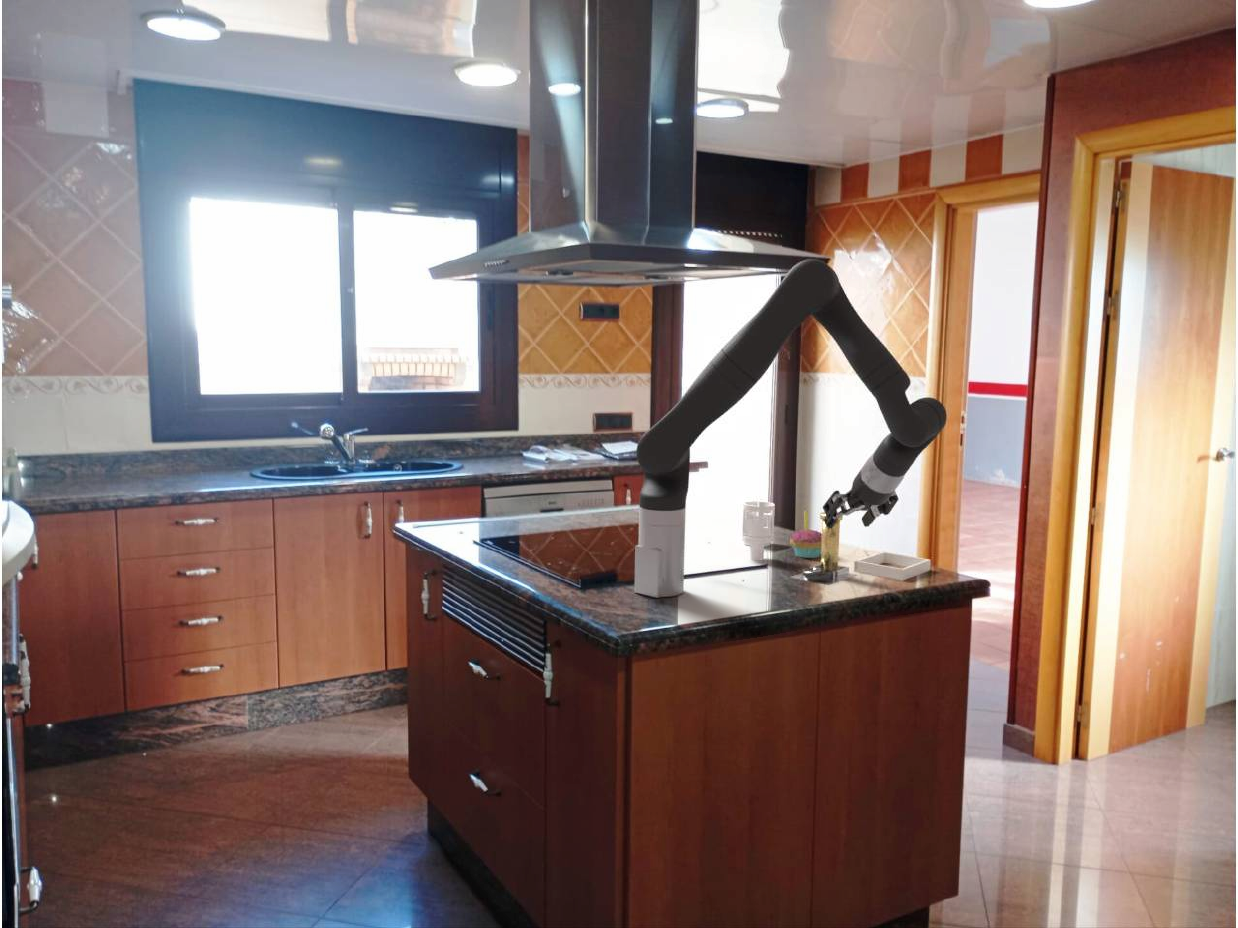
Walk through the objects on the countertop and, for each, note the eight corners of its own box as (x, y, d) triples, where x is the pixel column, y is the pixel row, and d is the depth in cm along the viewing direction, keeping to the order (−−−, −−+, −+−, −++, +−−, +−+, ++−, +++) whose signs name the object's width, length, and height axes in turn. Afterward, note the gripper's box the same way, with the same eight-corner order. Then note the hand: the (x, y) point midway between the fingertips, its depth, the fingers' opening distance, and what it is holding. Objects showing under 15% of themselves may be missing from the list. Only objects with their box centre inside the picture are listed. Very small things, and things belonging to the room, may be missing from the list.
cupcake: (782, 557, 230) (784, 506, 228) (813, 554, 233) (815, 504, 231) (801, 565, 222) (803, 513, 220) (833, 563, 225) (836, 511, 223)
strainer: (743, 567, 219) (745, 501, 217) (738, 560, 226) (740, 495, 224) (775, 567, 219) (777, 501, 217) (769, 560, 226) (771, 496, 224)
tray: (902, 586, 205) (902, 569, 204) (853, 576, 212) (854, 560, 212) (929, 575, 214) (930, 559, 214) (882, 566, 222) (883, 551, 221)
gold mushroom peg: (832, 578, 206) (835, 516, 204) (813, 574, 209) (816, 513, 207) (843, 574, 209) (846, 514, 207) (824, 570, 212) (827, 511, 210)
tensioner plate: (827, 590, 200) (828, 574, 200) (789, 582, 206) (790, 566, 206) (856, 580, 209) (857, 564, 208) (819, 572, 215) (820, 557, 214)
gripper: (904, 460, 194) (870, 507, 206) (840, 462, 189) (809, 510, 202) (919, 491, 189) (882, 537, 202) (854, 493, 185) (821, 541, 197)
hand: (846, 524), depth 202 cm, fingers open, 8 cm apart
